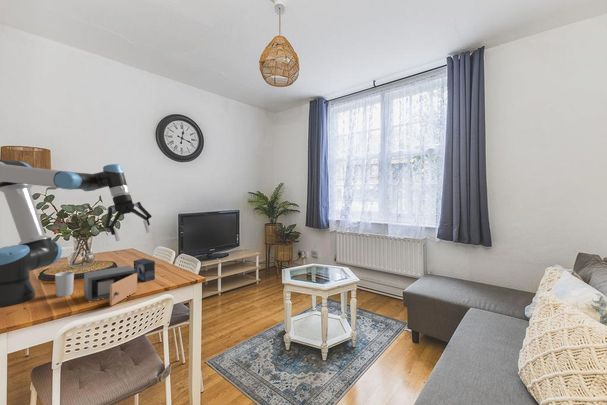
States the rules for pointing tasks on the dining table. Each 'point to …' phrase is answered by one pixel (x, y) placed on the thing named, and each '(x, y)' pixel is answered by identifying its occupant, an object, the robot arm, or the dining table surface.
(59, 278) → the drinking glass
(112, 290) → the side door
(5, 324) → the dining table surface
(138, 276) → the small box
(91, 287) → the grey cabinet
